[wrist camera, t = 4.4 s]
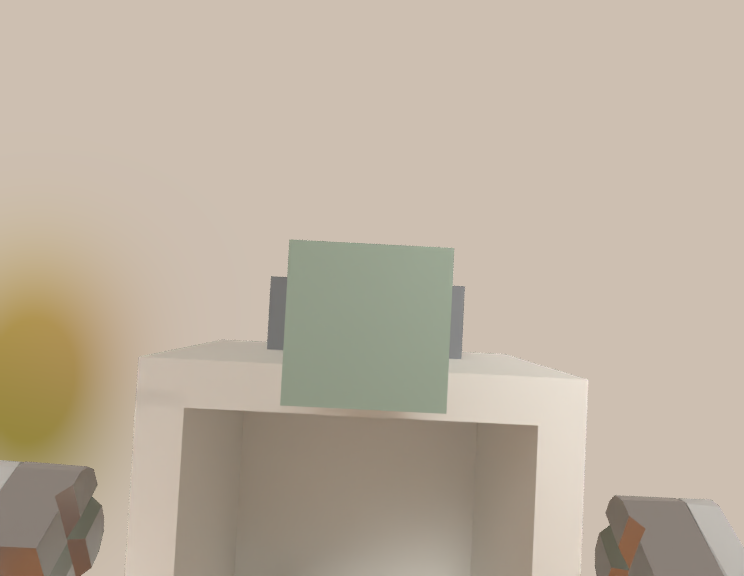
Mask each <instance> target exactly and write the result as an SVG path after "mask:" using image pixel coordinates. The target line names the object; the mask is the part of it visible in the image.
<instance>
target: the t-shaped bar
mask: <svg viewBox="0 0 744 576" xmlns="http://www.w3.org/2000/svg"><path fill="white" fill-rule="evenodd" d="M453 262H454V248H440V247H421V246H401V245H381V244H363V243H345V242H326V241H307V240H289V257H288V275H287V277H272V276H271V288H270V306H269V324H268V340H267V349H271V350H283V363H282V381H281V399H280V405H281V406H300V407H320V408H340V409H360V410H380V411H400V412H420V413H439V414H446V412H447V391H448V369H449V359H461V356H462V334H463V313H464V312H463V311H464V291H465V287H464V286H452V285H453Z"/></svg>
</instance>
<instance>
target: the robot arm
mask: <svg viewBox="0 0 744 576" xmlns="http://www.w3.org/2000/svg"><path fill="white" fill-rule="evenodd" d="M96 487H97V480H96V477H95V472H94V469H92V468H90V467H86V466H73V465H61V464H49V463H37V462H16V461H4V460H0V576H81V575H82V574H83V573H85V572H86V571H87V570H89V569H90V568H91V567H92V565H93V563H94V561H95V559H96V556H97V554H98V552H99V549H100V545H101V540H102V536H103V532H104V515H103V510H102V505H101V504H99V503H98V502H97V501H96V500H95V499H94V498H93V497H92V495H93V493H94V491H95V489H96ZM606 515H607V518H608V520H609V523H610V526H608V527H607V528H606V529H604V530H603V531H602V532H600V533H599V536H598V540H597V544H596V548H595V569H596V574H597V576H744V547H743V545H742V544H741V542H740V540H739V539H738V537H737V535H736V534H735V532H734V530H733V529H732V527H731V525H730V524H729V522H728V520H727V519H726V517H725V515H724V513H723V512H722V510H721V508H720V507H719V505H718V504H716V503H715V502H714V501H713V500H705V499H683V498H679V499H676V498H659V497H638V496H616V495H615V496H614V497H613V498H612V499H611V500H610V502H609V504H608V508H607V510H606Z"/></svg>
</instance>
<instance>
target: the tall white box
mask: <svg viewBox="0 0 744 576" xmlns="http://www.w3.org/2000/svg"><path fill="white" fill-rule="evenodd" d="M282 363H283V350H271V349H267V342H258V341H238V340H219V341H214V342H209V343H204V344H199V345H194V346H190V347H184V348H179V349H175V350H170V351H165V352H159V353H155V354H150V355H145V356H140V357H139V358H138V374H137V389H136V406H135V420H134V436H133V451H132V468H131V482H130V499H129V513H128V529H127V544H126V561H125V576H581V550H582V526H583V525H582V523H583V499H584V475H585V474H584V473H585V449H586V424H587V399H588V379H585V378H581V377H578V376H575V375H572V374H568V373H565V372H562V371H559V370H555V369H552V368H549V367H546V366H542V365H539V364H536V363H532V362H529V361H526V360H523V359H520V358H516V357H513V356H510V355H507V354H494V353H474V352H462V356H461V359H449V369H448V391H447V412H446V414H439V413H420V412H400V411H380V410H360V409H340V408H320V407H300V406H281V405H280V399H281V381H282Z"/></svg>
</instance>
